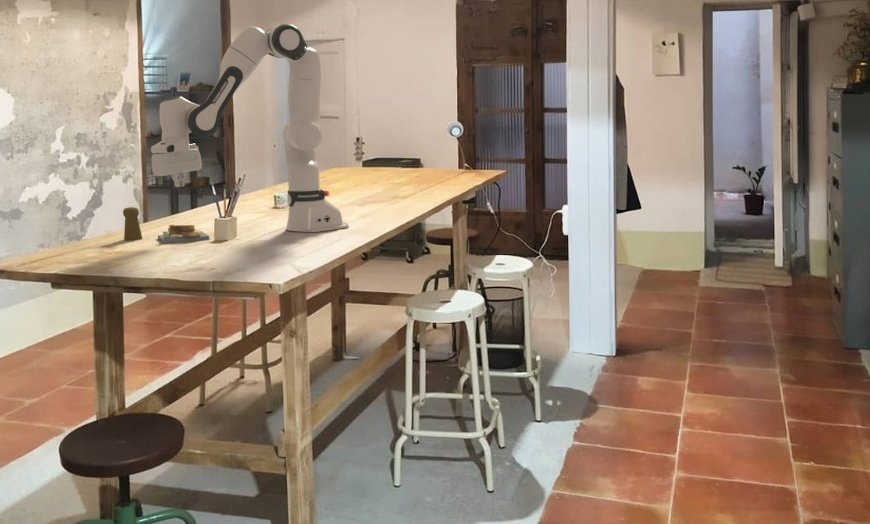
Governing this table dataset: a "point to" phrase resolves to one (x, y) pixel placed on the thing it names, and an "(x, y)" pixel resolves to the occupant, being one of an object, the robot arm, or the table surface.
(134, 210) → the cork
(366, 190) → the table surface
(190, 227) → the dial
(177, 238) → the board
